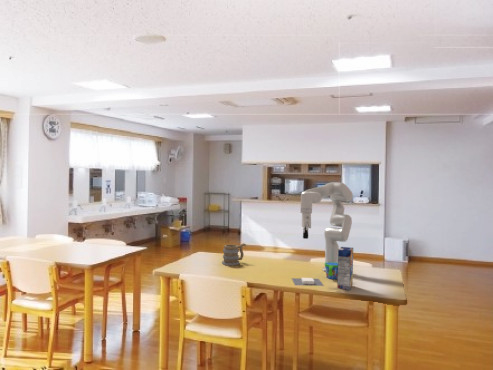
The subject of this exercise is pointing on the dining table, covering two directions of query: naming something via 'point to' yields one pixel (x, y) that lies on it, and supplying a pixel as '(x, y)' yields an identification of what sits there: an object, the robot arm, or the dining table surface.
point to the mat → (316, 283)
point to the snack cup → (331, 270)
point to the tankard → (232, 254)
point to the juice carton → (345, 268)
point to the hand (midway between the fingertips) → (305, 238)
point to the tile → (307, 280)
